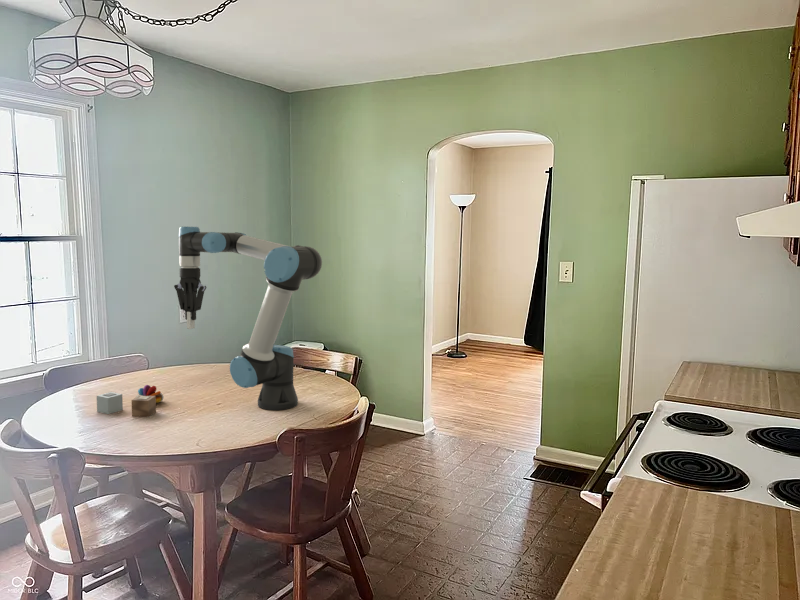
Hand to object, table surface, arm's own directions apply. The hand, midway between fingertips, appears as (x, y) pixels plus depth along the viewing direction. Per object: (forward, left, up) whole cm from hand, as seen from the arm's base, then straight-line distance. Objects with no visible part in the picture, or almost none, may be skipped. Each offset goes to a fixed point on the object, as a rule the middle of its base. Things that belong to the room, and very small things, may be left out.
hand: (190, 328), depth 228 cm
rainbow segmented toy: (+12, +10, -29) cm, 33 cm away
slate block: (+19, +22, -29) cm, 41 cm away
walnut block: (+5, +21, -29) cm, 36 cm away
